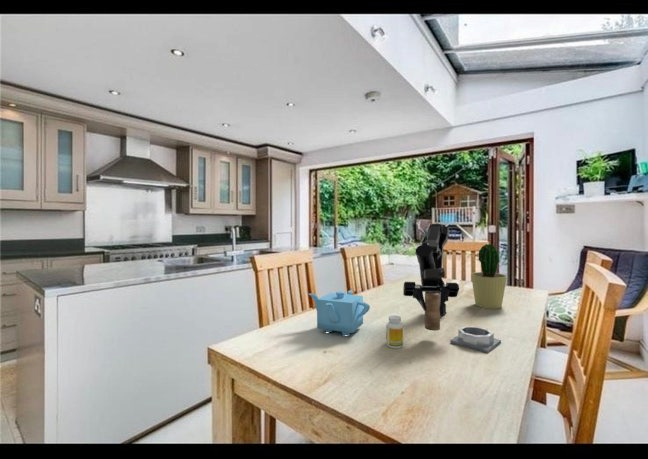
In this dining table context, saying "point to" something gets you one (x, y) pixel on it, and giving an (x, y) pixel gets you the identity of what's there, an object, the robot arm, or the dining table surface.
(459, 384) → the dining table surface
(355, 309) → the teakettle
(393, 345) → the supplement bottle
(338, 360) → the dining table surface
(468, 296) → the dining table surface
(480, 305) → the potted cactus
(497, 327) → the dining table surface
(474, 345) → the dock
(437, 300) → the peg
